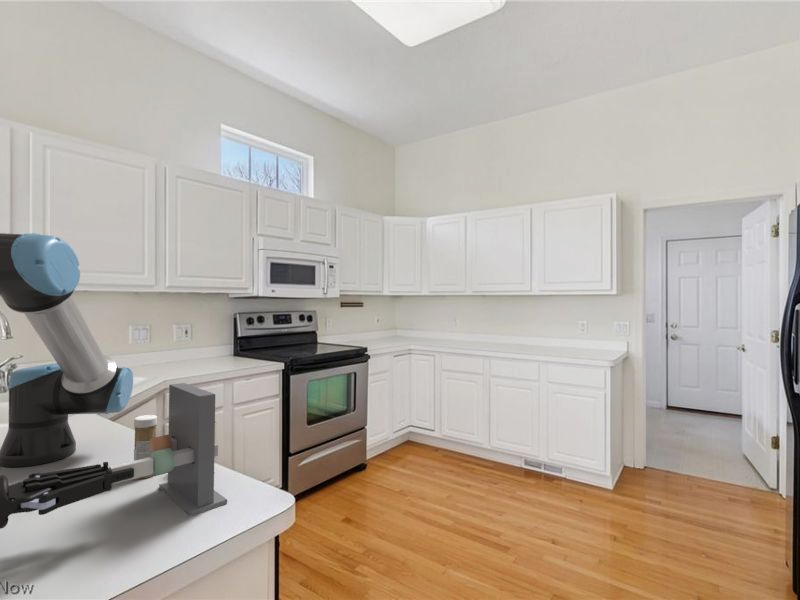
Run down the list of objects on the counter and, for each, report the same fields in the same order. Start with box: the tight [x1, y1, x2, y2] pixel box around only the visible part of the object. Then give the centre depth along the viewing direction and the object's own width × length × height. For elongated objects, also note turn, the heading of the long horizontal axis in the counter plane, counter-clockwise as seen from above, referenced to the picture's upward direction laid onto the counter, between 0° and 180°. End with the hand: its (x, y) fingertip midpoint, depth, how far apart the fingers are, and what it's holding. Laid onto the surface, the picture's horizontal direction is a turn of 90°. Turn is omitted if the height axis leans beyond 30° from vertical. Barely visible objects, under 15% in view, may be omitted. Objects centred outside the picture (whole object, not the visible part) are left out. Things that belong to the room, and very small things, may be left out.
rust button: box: [149, 434, 177, 453], centre depth 92 cm, size 4×12×4 cm, turn 137°
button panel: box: [158, 382, 228, 516], centre depth 89 cm, size 17×7×22 cm, turn 47°
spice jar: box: [133, 414, 158, 479], centre depth 98 cm, size 5×5×14 cm
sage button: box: [149, 443, 219, 477], centre depth 83 cm, size 4×12×4 cm, turn 137°
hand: (151, 465), depth 79 cm, fingers closed
